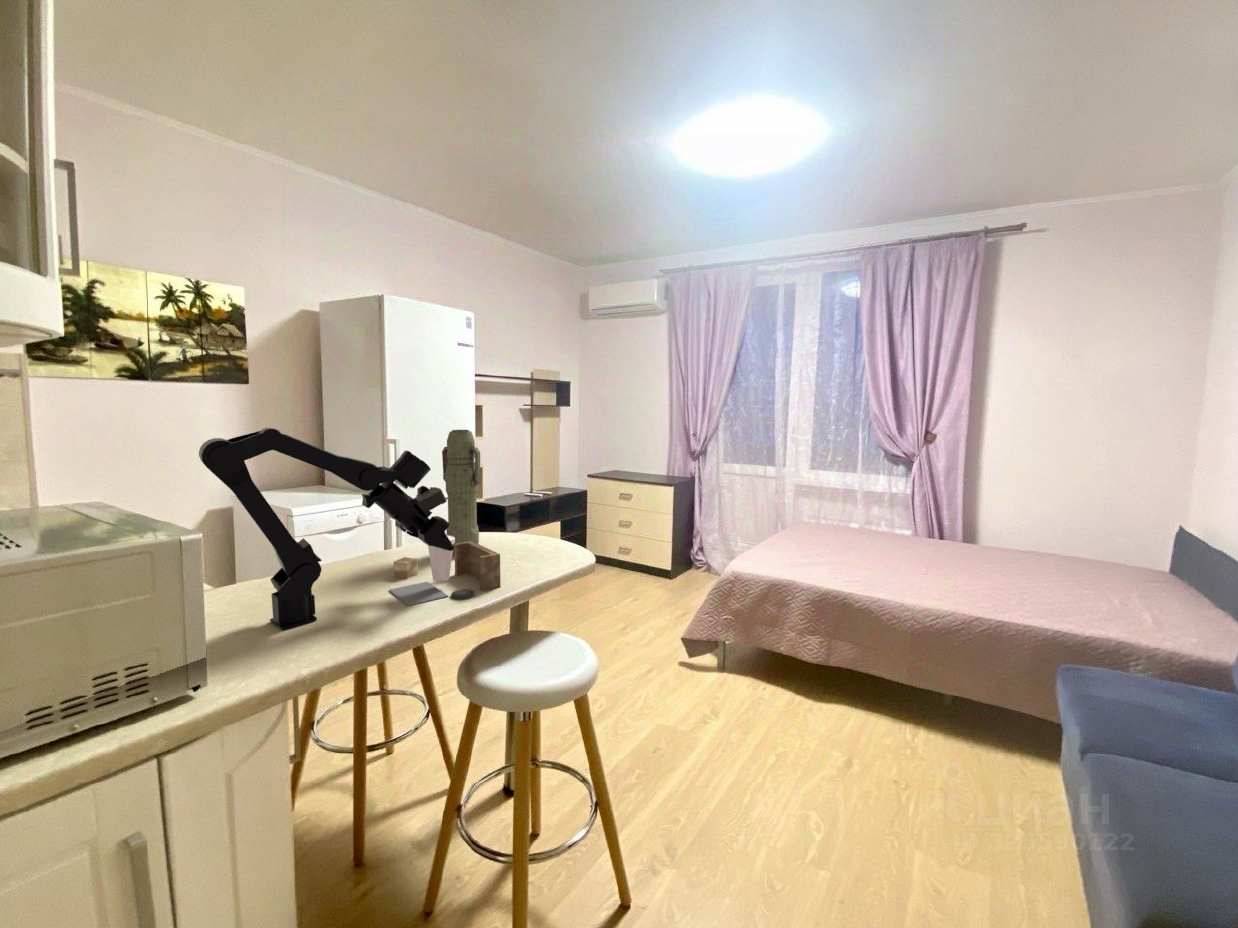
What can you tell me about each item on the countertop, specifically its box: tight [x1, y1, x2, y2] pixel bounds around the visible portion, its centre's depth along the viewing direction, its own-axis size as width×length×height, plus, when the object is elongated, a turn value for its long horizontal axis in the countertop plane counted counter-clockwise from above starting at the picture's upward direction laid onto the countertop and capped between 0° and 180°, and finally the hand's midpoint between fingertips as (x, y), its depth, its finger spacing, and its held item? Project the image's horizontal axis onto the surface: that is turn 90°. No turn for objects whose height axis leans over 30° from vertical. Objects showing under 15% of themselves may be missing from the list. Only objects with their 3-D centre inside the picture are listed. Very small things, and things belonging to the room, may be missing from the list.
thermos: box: [441, 429, 481, 556], centre depth 161 cm, size 9×12×35 cm
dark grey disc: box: [450, 588, 475, 601], centre depth 128 cm, size 5×5×1 cm
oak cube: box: [393, 556, 419, 580], centre depth 141 cm, size 4×4×4 cm
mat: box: [388, 581, 449, 607], centre depth 129 cm, size 9×12×1 cm
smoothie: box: [427, 534, 455, 582], centre depth 131 cm, size 6×6×14 cm
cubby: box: [454, 541, 501, 592], centre depth 138 cm, size 5×15×8 cm, turn 40°
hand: (446, 546), depth 132 cm, fingers closed on smoothie, 6 cm apart
